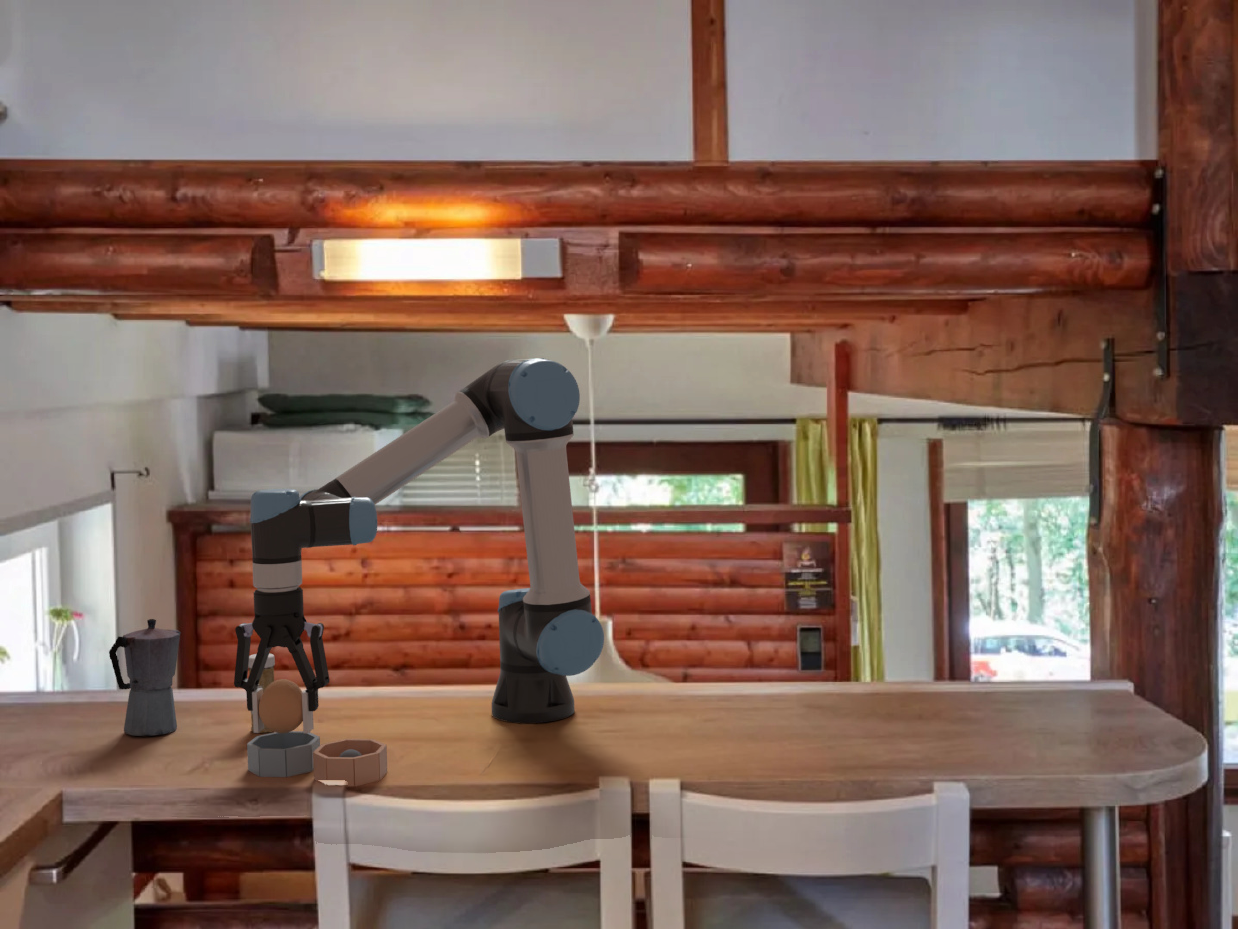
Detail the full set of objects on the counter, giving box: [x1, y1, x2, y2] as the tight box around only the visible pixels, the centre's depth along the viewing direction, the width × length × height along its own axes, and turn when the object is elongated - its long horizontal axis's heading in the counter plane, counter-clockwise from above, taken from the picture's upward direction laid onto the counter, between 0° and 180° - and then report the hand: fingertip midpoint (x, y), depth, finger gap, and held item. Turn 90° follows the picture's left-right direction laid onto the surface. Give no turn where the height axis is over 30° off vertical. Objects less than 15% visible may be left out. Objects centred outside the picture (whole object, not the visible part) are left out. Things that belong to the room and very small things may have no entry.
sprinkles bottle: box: [248, 653, 276, 734], centre depth 235 cm, size 5×5×14 cm
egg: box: [259, 678, 303, 733], centre depth 210 cm, size 7×7×8 cm
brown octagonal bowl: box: [313, 738, 388, 787], centre depth 206 cm, size 10×10×5 cm
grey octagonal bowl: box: [246, 730, 321, 778], centre depth 211 cm, size 10×10×5 cm
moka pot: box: [108, 618, 182, 737], centre depth 234 cm, size 10×15×20 cm, turn 155°
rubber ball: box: [339, 749, 362, 757], centre depth 206 cm, size 4×4×4 cm
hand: (283, 730), depth 211 cm, fingers closed on egg, 7 cm apart
